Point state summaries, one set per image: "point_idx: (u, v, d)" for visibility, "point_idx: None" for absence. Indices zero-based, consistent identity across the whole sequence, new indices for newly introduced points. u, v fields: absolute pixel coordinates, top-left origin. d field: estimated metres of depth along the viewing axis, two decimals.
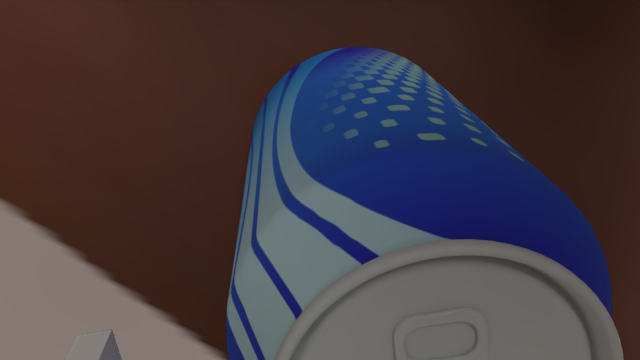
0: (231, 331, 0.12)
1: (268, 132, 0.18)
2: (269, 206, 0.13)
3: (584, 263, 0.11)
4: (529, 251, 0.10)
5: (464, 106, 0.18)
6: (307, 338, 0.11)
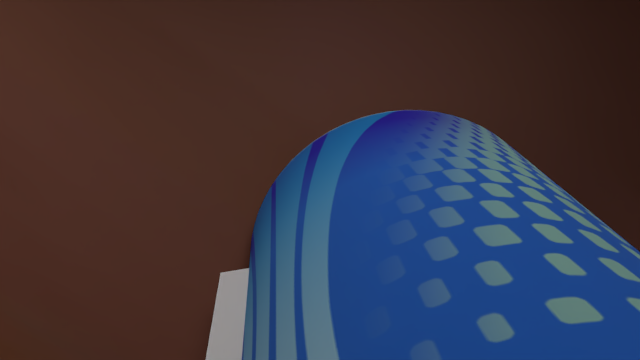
0: None
1: (284, 283, 0.10)
2: None
3: None
4: None
5: (631, 245, 0.10)
6: None
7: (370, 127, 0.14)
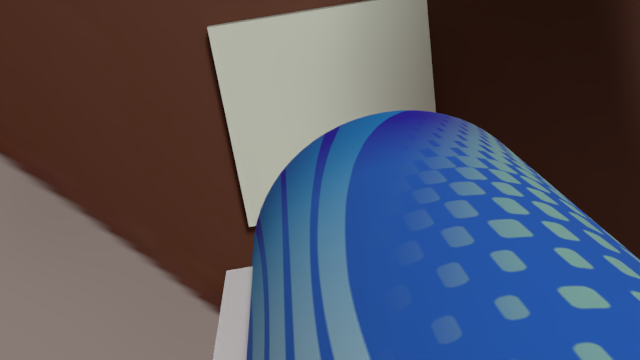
0: None
1: (299, 262, 0.11)
2: None
3: None
4: None
5: None
6: None
7: (382, 123, 0.15)
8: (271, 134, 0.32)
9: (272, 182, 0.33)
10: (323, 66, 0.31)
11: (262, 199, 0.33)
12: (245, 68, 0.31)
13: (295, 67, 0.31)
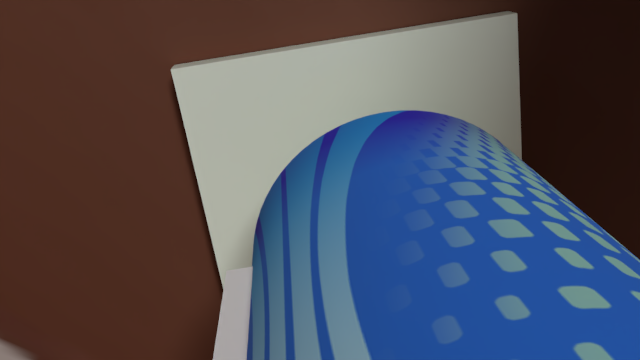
0: None
1: (299, 262, 0.11)
2: None
3: None
4: None
5: (628, 250, 0.11)
6: None
7: (383, 123, 0.15)
8: None
9: None
10: None
11: None
12: (232, 131, 0.20)
13: (309, 128, 0.20)
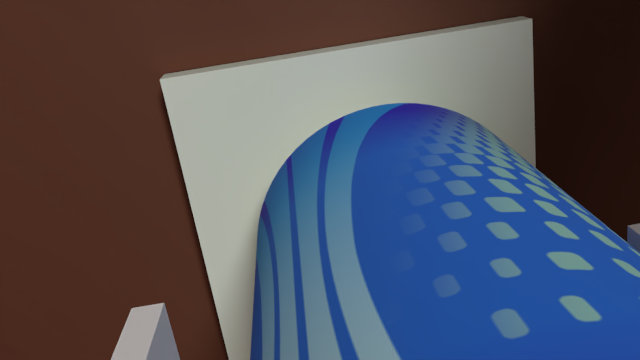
0: None
1: (307, 236, 0.12)
2: None
3: None
4: None
5: None
6: None
7: (385, 114, 0.16)
8: None
9: None
10: None
11: None
12: (226, 146, 0.18)
13: None
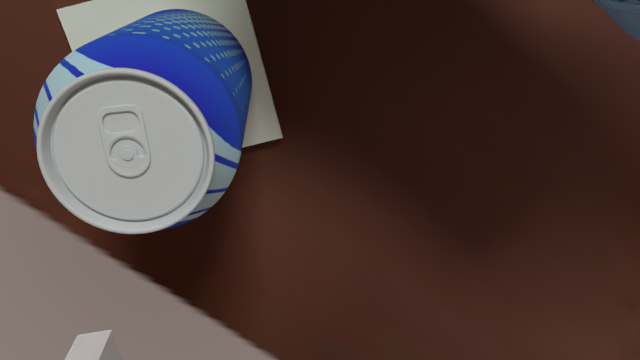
0: (34, 129, 0.24)
1: None
2: None
3: (200, 92, 0.23)
4: (153, 74, 0.22)
5: (211, 37, 0.30)
6: (56, 118, 0.22)
7: (155, 12, 0.34)
8: None
9: None
10: None
11: None
12: None
13: None
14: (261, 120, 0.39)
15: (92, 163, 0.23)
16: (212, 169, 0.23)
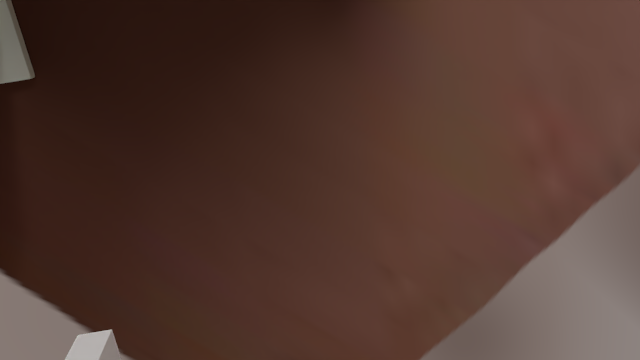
0: None
1: None
2: None
3: None
4: None
5: None
6: None
7: None
8: None
9: None
10: None
11: None
12: None
13: None
14: (9, 59, 0.41)
15: None
16: None
